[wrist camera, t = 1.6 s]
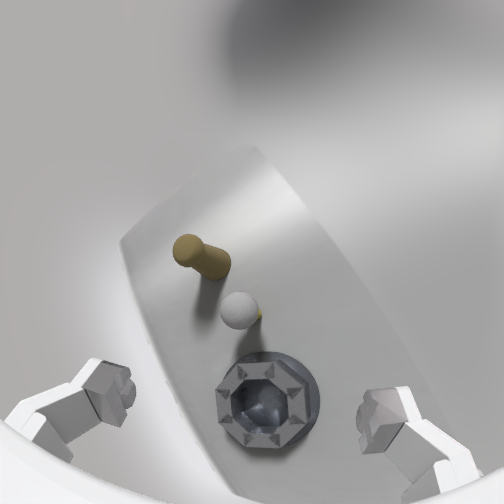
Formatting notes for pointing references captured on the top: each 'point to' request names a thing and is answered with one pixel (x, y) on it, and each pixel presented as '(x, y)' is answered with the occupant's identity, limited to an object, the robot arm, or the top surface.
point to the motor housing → (267, 400)
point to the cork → (201, 257)
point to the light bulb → (239, 310)
